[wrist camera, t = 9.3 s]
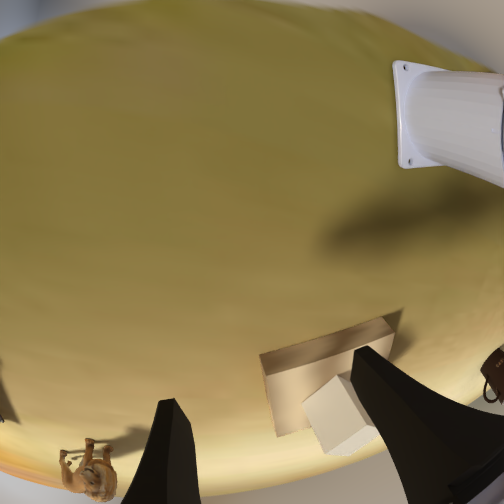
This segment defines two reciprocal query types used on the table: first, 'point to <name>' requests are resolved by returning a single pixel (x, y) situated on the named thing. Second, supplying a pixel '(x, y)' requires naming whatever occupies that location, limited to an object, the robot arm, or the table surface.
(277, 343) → the table surface
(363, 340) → the oak block
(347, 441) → the white block
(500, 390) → the coffee mug
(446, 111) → the robot arm
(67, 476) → the lion figurine
